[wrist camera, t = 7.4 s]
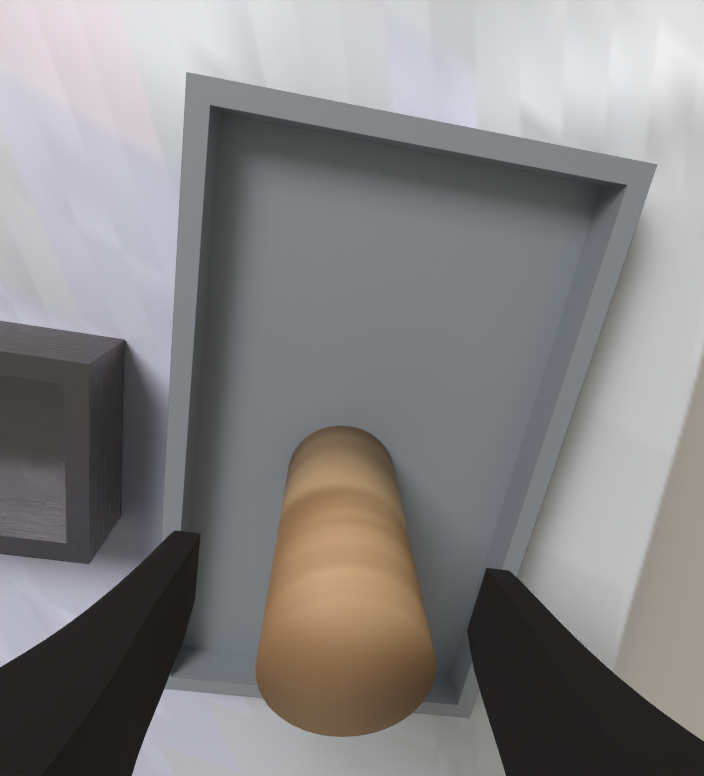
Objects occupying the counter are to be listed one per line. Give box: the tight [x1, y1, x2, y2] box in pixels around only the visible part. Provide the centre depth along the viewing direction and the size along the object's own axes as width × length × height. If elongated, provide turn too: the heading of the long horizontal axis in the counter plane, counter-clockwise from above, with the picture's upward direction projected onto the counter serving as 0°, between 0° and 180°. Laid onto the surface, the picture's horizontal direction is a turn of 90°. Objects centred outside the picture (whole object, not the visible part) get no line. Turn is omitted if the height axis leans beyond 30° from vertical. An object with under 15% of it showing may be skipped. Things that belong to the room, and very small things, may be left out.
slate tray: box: [161, 72, 657, 718], centre depth 17 cm, size 20×12×2 cm, turn 170°
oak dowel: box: [255, 426, 436, 737], centre depth 14 cm, size 4×4×8 cm
